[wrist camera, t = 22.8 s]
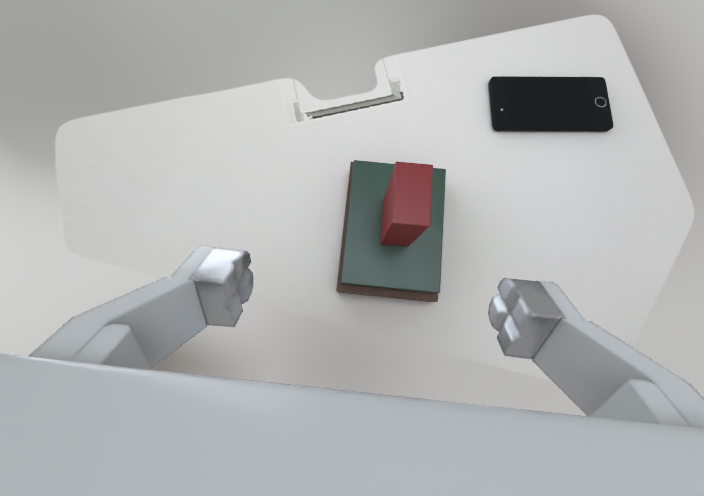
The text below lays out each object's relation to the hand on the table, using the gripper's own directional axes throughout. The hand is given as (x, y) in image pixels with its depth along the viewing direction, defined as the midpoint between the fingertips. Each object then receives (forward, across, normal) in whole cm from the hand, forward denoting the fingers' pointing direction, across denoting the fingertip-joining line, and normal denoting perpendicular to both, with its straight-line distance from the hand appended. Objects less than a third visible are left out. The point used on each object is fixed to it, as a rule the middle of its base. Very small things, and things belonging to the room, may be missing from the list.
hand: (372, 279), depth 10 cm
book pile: (+29, -4, +16) cm, 33 cm away
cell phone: (+45, -27, -1) cm, 53 cm away
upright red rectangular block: (+25, -4, +12) cm, 28 cm away
